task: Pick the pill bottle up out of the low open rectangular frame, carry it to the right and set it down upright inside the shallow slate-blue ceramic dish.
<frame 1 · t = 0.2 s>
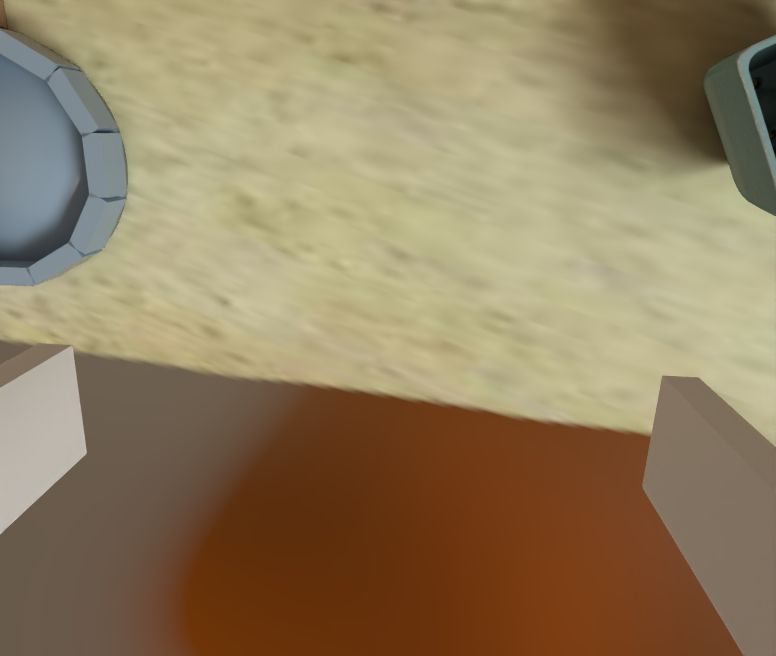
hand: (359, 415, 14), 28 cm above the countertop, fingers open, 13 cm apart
flower pot: (757, 108, 37), on the countertop
bowl: (13, 161, 40), on the countertop
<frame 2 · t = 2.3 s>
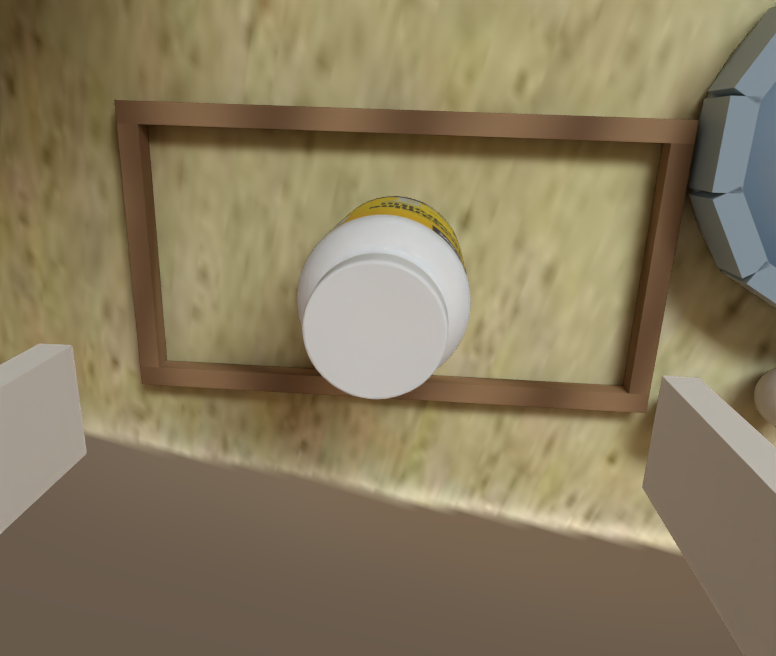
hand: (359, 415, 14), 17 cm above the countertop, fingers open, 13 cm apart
pebble b: (774, 384, 31), on the countertop
pill bottle: (395, 259, 31), resting in open rectangular frame
open rectangular frame: (394, 260, 30), on the countertop
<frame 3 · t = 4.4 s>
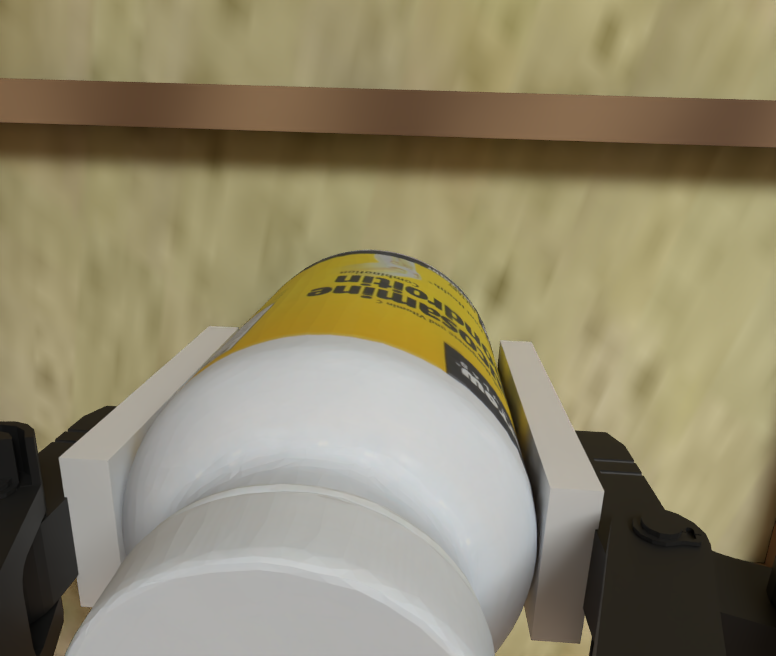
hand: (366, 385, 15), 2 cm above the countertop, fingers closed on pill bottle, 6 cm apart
pill bottle: (374, 354, 17), resting in open rectangular frame, touching gripper
open rectangular frame: (373, 357, 17), on the countertop
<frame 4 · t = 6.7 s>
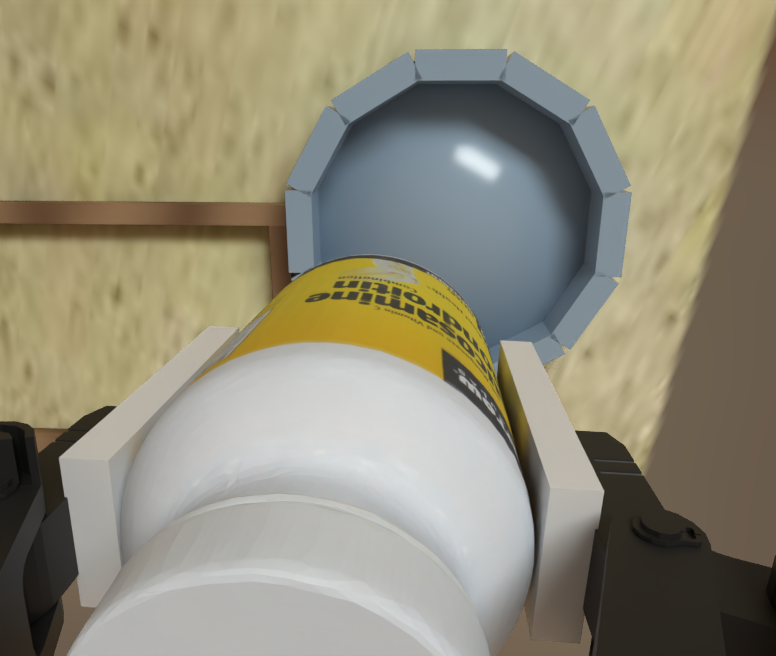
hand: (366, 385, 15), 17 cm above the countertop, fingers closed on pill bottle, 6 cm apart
pill bottle: (372, 358, 17), point 15 cm above the countertop, touching gripper
open rectangular frame: (62, 330, 33), on the countertop
bowl: (451, 224, 31), on the countertop
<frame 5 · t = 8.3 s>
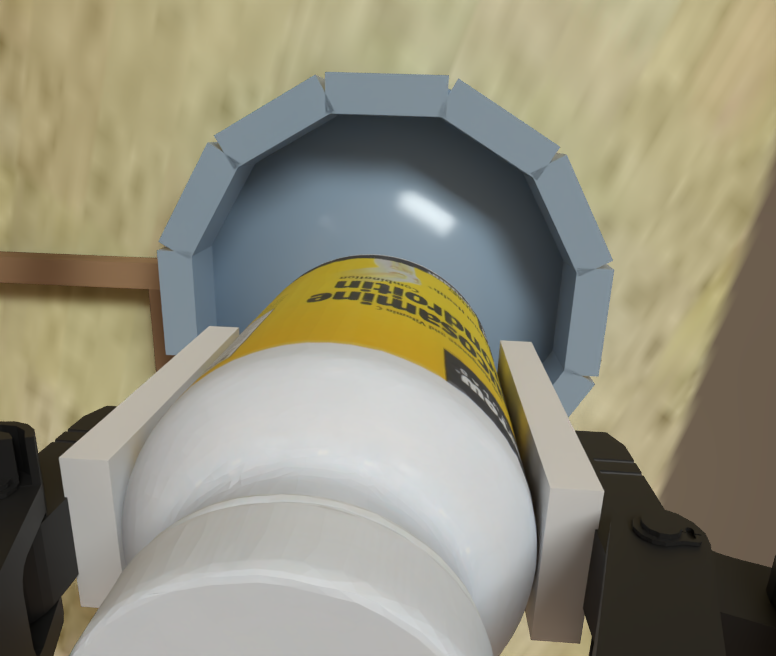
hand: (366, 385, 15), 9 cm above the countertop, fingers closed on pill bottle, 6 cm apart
pill bottle: (373, 358, 17), point 7 cm above the countertop, touching gripper
bowl: (385, 293, 24), on the countertop
when the fingers open (4 cm above the countertop, at t = 9.5 s): pill bottle drops 2 cm, resting on bowl.
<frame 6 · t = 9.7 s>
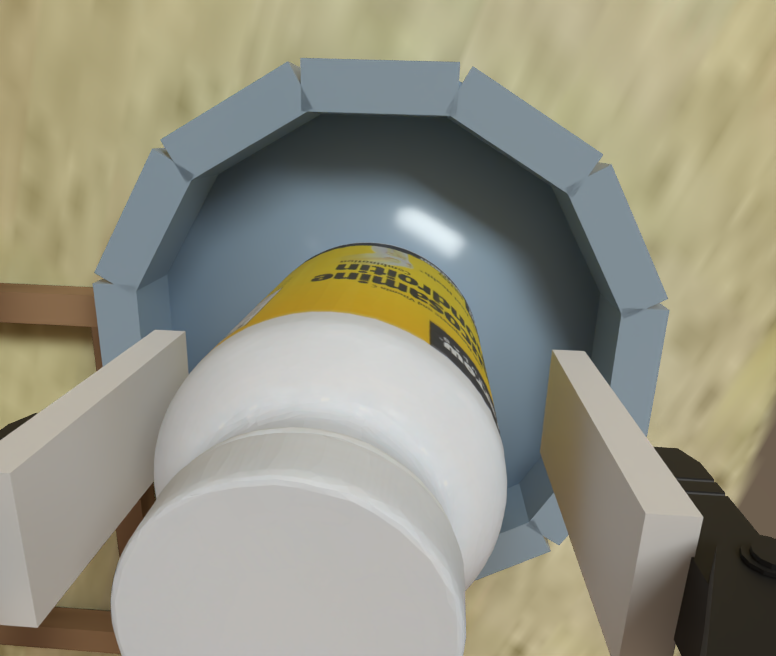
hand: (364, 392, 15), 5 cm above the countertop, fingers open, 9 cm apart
pill bottle: (371, 338, 19), point 1 cm above the countertop, touching bowl
bowl: (380, 330, 20), on the countertop
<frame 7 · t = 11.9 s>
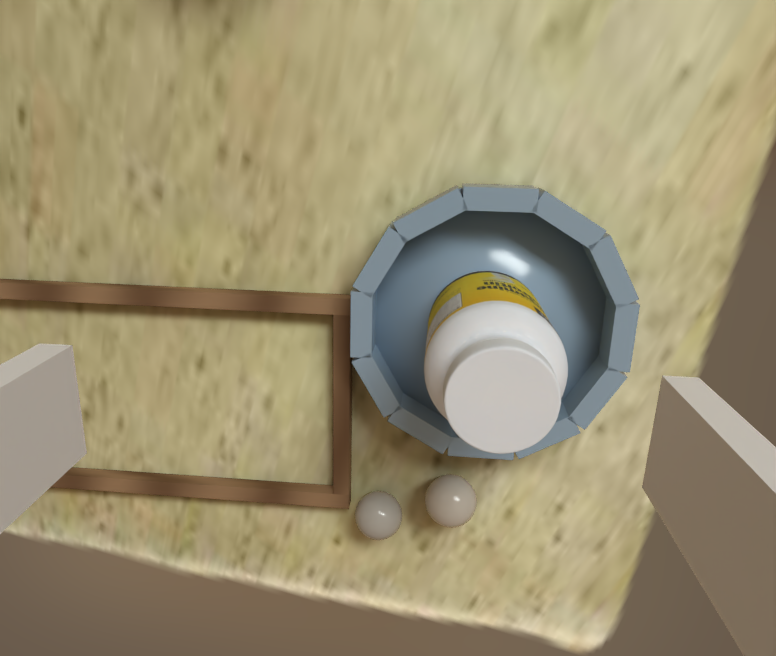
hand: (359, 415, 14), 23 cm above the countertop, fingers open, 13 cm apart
pebble b: (450, 486, 40), on the countertop
pebble a: (380, 502, 40), on the countertop
pill bottle: (483, 321, 36), point 1 cm above the countertop, touching bowl
open rectangular frame: (152, 391, 40), on the countertop
bowl: (486, 317, 36), on the countertop
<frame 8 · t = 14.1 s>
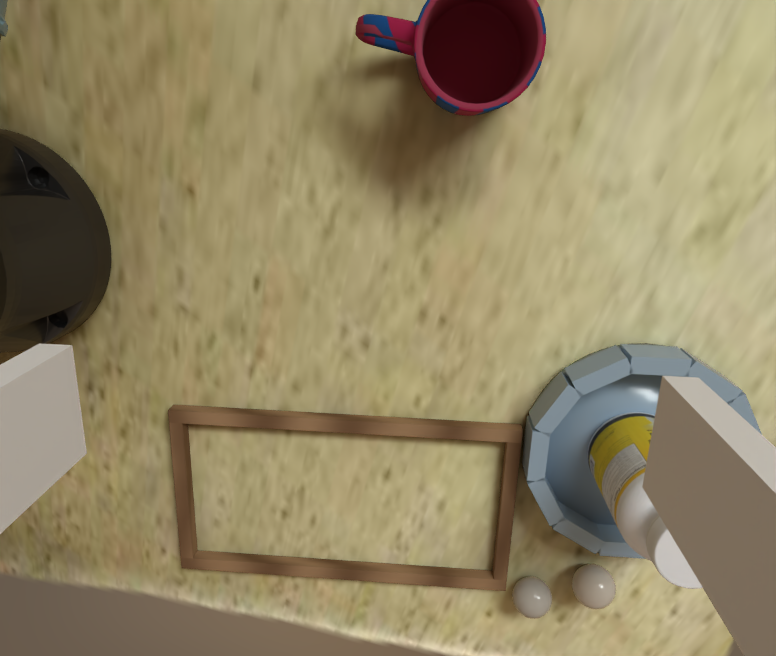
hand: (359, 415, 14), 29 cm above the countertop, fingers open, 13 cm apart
pebble b: (588, 572, 48), on the countertop
mug: (445, 50, 38), on the countertop
pebble a: (529, 583, 49), on the countertop
pill bottle: (629, 447, 44), point 1 cm above the countertop, touching bowl
open rectangular frame: (343, 496, 48), on the countertop
bowl: (629, 442, 45), on the countertop
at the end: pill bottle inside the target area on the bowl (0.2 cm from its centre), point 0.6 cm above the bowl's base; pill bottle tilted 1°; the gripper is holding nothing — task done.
